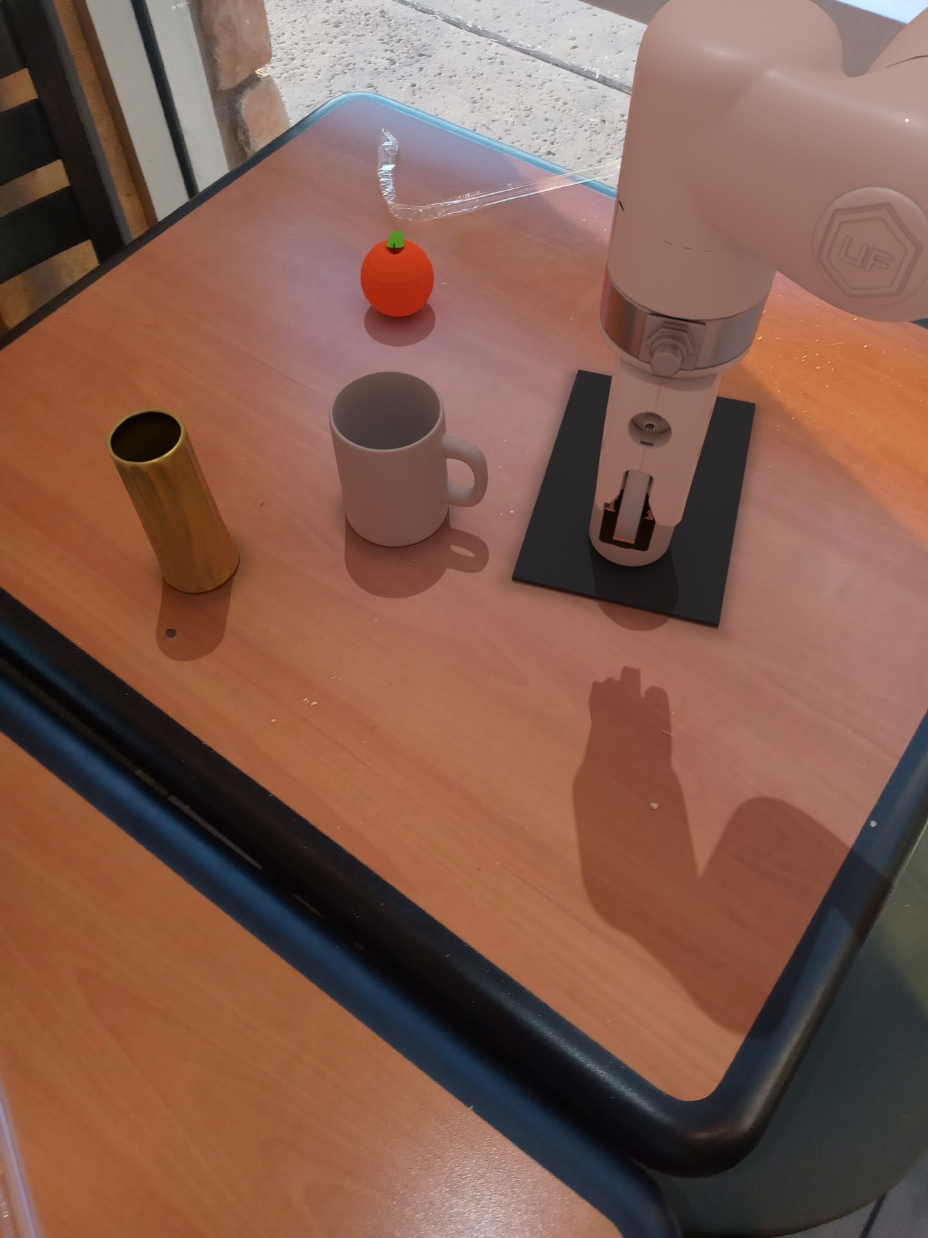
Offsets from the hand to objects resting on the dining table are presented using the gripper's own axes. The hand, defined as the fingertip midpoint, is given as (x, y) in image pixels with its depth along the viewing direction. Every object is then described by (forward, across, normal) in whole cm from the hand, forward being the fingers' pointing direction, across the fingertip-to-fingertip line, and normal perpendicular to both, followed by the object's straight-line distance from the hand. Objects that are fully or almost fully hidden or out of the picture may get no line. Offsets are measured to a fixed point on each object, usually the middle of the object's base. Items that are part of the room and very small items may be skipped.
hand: (624, 537), depth 58 cm
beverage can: (+12, +9, 0) cm, 14 cm away
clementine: (+12, +31, +26) cm, 43 cm away
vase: (+12, -2, +32) cm, 34 cm away
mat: (+12, +15, 0) cm, 19 cm away
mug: (+12, +7, +17) cm, 22 cm away
